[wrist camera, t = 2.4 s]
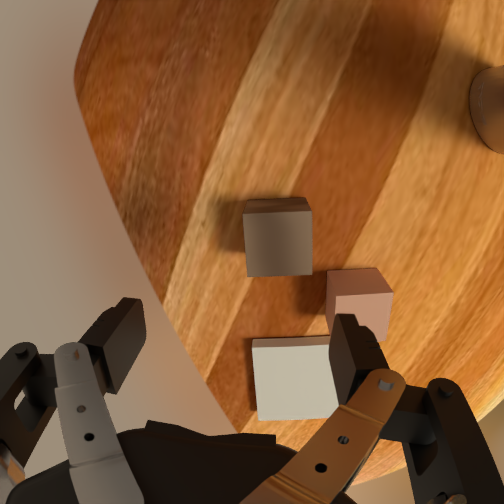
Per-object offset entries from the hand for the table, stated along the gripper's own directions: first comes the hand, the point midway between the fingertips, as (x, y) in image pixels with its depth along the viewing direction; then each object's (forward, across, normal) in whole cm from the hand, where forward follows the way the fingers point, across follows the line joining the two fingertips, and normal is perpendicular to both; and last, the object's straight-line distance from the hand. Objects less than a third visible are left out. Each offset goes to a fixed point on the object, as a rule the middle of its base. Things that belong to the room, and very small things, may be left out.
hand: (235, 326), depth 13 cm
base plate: (+17, -7, +18) cm, 25 cm away
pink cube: (+17, -10, +7) cm, 20 cm away
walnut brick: (+17, -2, 0) cm, 17 cm away
